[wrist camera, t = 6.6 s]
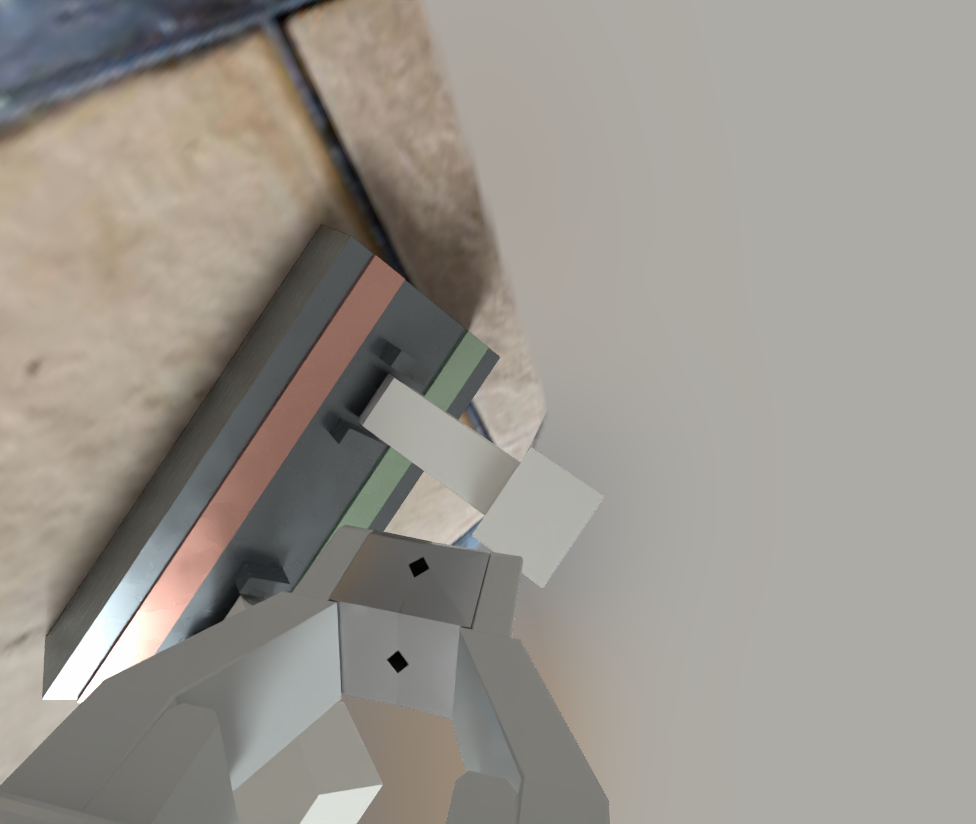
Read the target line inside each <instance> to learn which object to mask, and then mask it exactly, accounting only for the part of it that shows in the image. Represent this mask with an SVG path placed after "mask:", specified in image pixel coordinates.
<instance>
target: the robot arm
mask: <svg viewBox="0 0 976 824" xmlns="http://www.w3.org/2000/svg"><path fill="white" fill-rule="evenodd" d="M522 566H523V558H522V557H521V556H515V555H509V554H502V553H496V552H492V553H491V552H486V551H480V550H474V549H469V548H463V547H457V546H452V545H446V544H440V543H435V542H430V541H426V540H421V539H416V538H411V537H406V536H401V535H397V534H392V533H387V532H382V531H377V530H374V531H373V530H370V529H365V528H360V527H355V526H350V525H344V526H342V527H340V528H339V529H338V530H337V531H336V533H335V534H334V535H333V537H332V538H331V539H330V541H329V542H328V544H327V545H326V546H325V548H324V549H323V550H322V552H321V553H320V555H319V556H318V557H317V559H316V560H315V561H314V563H313V564H312V566H311V567H310V568H309V570H308V571H307V572H306V574H305V575H304V577H303V578H302V579H301V581H300V582H299V583H298V585H297V586H296V588H295V589H294V590H293V592H292V593H288V592H283V591H282V592H280V593H278V594H276V595H274V596H272V597H270V598H268V599H266V600H264V601H262V602H260V603H258V604H256V605H254V606H252V607H250V608H248V609H246V610H244V611H242V612H240V613H238V614H236V615H234V616H232V617H230V618H228V619H226V620H224V621H222V622H220V623H218V624H216V625H214V626H212V627H210V628H208V629H206V630H204V631H202V632H200V633H198V634H196V635H194V636H192V637H190V638H187V639H185V640H183V641H181V642H179V643H177V644H175V645H173V646H171V647H169V648H167V649H165V650H163V651H161V652H159V653H157V654H155V655H153V656H151V657H149V658H147V659H145V660H143V661H141V662H139V663H137V664H135V665H133V666H131V667H129V668H127V669H125V670H123V671H121V672H119V673H117V674H115V675H113V676H111V677H109V678H107V679H105V680H103V681H102V683H101V684H100V685H99V686H98V687H97V688H96V689H95V690H94V691H93V692H92V693H91V694H90V695H89V696H88V697H87V698H86V699H85V700H84V701H83V702H82V703H81V704H80V705H79V706H78V707H77V708H76V709H75V710H74V711H73V712H72V713H71V714H70V715H69V716H68V717H67V718H66V719H65V720H64V721H63V722H62V723H61V724H60V725H59V726H58V727H57V728H56V729H55V730H54V731H53V732H52V733H51V734H50V735H49V736H48V737H47V739H46V740H45V741H44V742H43V743H42V744H41V745H40V746H39V747H38V748H37V749H36V750H35V751H34V752H33V753H32V754H31V755H30V756H29V757H28V758H27V759H26V760H25V761H24V762H23V763H22V764H21V765H20V766H19V767H18V768H17V769H16V770H15V771H14V772H13V773H12V774H11V775H10V776H9V777H8V778H7V779H6V780H5V781H4V782H3V783H2V784H1V785H0V824H239V820H238V815H237V810H236V805H235V800H234V795H233V791H234V790H235V789H236V788H238V787H239V786H240V785H241V784H242V783H243V782H245V781H246V780H247V779H248V778H249V777H250V776H252V775H253V774H254V773H255V772H256V771H257V770H259V769H260V768H261V767H262V766H263V765H264V764H266V763H267V762H268V761H269V760H270V759H271V758H273V757H274V756H275V755H276V754H277V753H278V752H280V751H281V750H282V749H283V748H284V747H285V746H287V745H288V744H289V743H290V742H291V741H292V740H294V739H295V738H296V737H297V736H298V735H299V734H301V733H302V732H303V731H304V730H305V729H306V728H308V727H309V726H310V725H311V724H312V723H313V722H315V721H316V720H317V719H318V718H319V717H320V716H322V715H323V714H324V713H325V712H326V711H327V710H329V709H330V708H331V707H332V706H333V705H334V704H336V703H337V702H338V701H339V700H340V699H341V695H346V696H351V697H356V698H362V699H367V700H372V701H377V702H382V703H387V704H393V705H398V706H401V707H405V708H409V709H413V710H417V711H421V712H425V713H429V714H433V715H437V716H440V717H444V718H449V719H452V725H453V729H454V732H455V736H456V739H457V743H458V746H459V750H460V754H461V757H462V760H463V764H464V768H465V771H466V773H465V774H464V775H462V776H461V777H460V778H458V779H457V780H456V782H455V787H454V791H453V795H452V800H451V804H450V808H449V813H448V817H447V821H446V824H610V820H609V801H608V798H607V797H606V795H605V793H604V791H603V789H602V788H601V786H600V784H599V782H598V780H597V778H596V776H595V775H594V773H593V771H592V769H591V767H590V766H589V764H588V762H587V760H586V759H585V756H584V754H583V753H582V751H581V749H580V747H579V745H578V743H577V742H576V740H575V738H574V736H573V734H572V733H571V731H570V729H569V727H568V726H567V723H566V722H565V720H564V718H563V716H562V714H561V712H560V711H559V709H558V707H557V705H556V703H555V702H554V700H553V698H552V696H551V694H550V693H549V691H548V689H547V687H546V685H545V683H544V681H543V679H542V678H541V676H540V674H539V672H538V670H537V668H536V667H535V665H534V663H533V661H532V659H531V658H530V656H529V654H528V652H527V650H526V649H525V647H524V645H523V643H522V641H521V640H520V639H515V638H512V634H513V626H514V619H515V613H516V606H517V600H518V593H519V586H520V579H521V572H522Z"/></svg>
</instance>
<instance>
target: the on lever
mask: <svg viewBox="0 0 976 824" xmlns="http://www.w3.org/2000/svg"><path fill="white" fill-rule="evenodd" d="M357 421H358V422H359V423H360V424H361V425H362V426H363V427H365V428H366V429H367V430H369V431H370V432H372V433H373V434H374V435H376V436H377V437H378V438H380V439H381V440H382V441H384V442H385V443H387V444H388V445H389V446H391V447H392V448H393V449H395V450H396V451H397V452H399V453H400V454H402V455H403V456H404V457H406V458H407V459H408V460H410V461H411V462H413V463H414V464H415V465H417V466H418V467H419V468H421V469H422V470H423V471H425V472H426V473H428V474H429V475H430V476H432V477H433V478H434V479H436V480H437V481H438V482H440V483H441V484H443V485H444V486H445V487H447V488H448V489H449V490H451V491H452V492H454V493H455V494H456V495H458V496H459V497H460V498H462V499H463V500H464V501H466V502H467V503H469V504H470V505H471V506H473V507H474V508H475V509H477V510H478V511H480V512H481V513H482V514H484V515H485V517H484V518H483V520H482V521H481V523H480V524H479V526H478V527H477V529H476V530H475V532H474V533H473V534H472V536H473V537H474V538H476V539H477V540H478V541H480V542H481V543H483V544H484V545H485V546H486V547H488V548H489V549H491V550H492V551H493V552H496V553H502V554H509V555H515V556H521V557H522V558H523V566H522V572H521V573H523V574H524V575H525V576H527V577H528V578H529V579H531V580H532V581H533V582H535V583H536V584H537V585H539V586H540V587H541V588H543V587H544V586H545V585H546V583H547V581H548V580H549V578H550V577H551V576H552V574H553V573H554V571H555V570H556V568H557V567H558V565H559V563H560V562H561V561H562V559H563V558H564V556H565V555H566V553H567V552H568V550H569V549H570V547H571V546H572V544H573V543H574V541H575V540H576V538H577V537H578V535H579V534H580V533H581V531H582V529H583V528H584V527H585V525H586V523H587V522H588V521H589V519H590V518H591V516H592V515H593V513H594V512H595V510H596V509H597V507H598V506H599V504H600V502H601V501H602V500H603V498H604V495H603V494H602V493H600V492H599V491H597V490H596V489H594V488H593V487H591V486H590V485H588V484H587V483H585V482H584V481H582V480H581V479H579V478H578V477H576V476H575V475H573V474H572V473H570V472H569V471H567V470H566V469H565V468H563V467H561V466H560V465H559V464H557V463H556V462H554V461H553V460H551V459H550V458H548V457H546V456H545V455H544V454H542V453H541V452H539V451H538V450H536V449H534V448H532V447H531V448H530V450H529V451H528V453H527V454H526V456H525V457H524V459H523V460H522V462H519V461H518V460H516V459H515V458H513V457H512V456H510V455H509V454H507V453H506V452H505V451H503V450H502V449H500V448H499V447H497V446H496V445H494V444H493V443H491V442H490V441H489V440H487V439H486V438H484V437H483V436H481V435H480V434H478V433H477V432H475V431H474V430H473V429H471V428H470V427H468V426H467V425H465V424H464V423H462V422H461V421H459V420H458V419H457V418H455V417H454V416H452V415H451V414H449V413H448V412H446V411H445V410H444V409H442V408H441V407H439V406H438V405H436V404H435V403H433V402H432V401H430V400H429V399H428V398H426V397H425V396H423V395H422V394H420V393H419V392H417V391H416V390H414V389H413V388H412V387H410V386H409V385H407V384H406V383H404V382H403V381H401V380H400V379H398V378H396V377H395V376H393V375H392V374H390V373H388V375H387V376H386V378H385V379H384V381H383V382H382V384H381V385H380V387H379V388H378V390H377V391H376V393H375V394H374V396H373V397H372V399H371V400H370V402H369V403H368V405H367V406H366V408H365V409H364V411H363V412H362V414H361V415H360V417H359V418H358V420H357Z"/></svg>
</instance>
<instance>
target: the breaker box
mask: <svg viewBox="0 0 976 824" xmlns="http://www.w3.org/2000/svg"><path fill="white" fill-rule="evenodd" d="M499 358H500V357H499V356H498V355H497V354H496V353H494V352H493V351H492V350H491V349H490V348H489V347H488V346H487V345H485V344H484V343H483V342H482V341H480V340H479V339H478V338H477V337H476V336H474V335H473V334H472V333H471V332H469V331H468V330H466V329H465V328H464V327H463V326H461V325H460V324H459V323H458V322H456V321H455V320H454V319H453V318H451V317H450V316H449V315H448V314H447V313H445V312H444V311H443V310H442V309H440V308H439V307H438V306H437V305H436V304H434V303H433V302H432V301H431V300H429V299H428V298H427V297H426V296H424V295H423V294H422V293H421V292H420V291H418V290H417V289H416V288H415V287H413V286H412V285H411V284H410V283H409V282H407V281H406V280H405V279H404V278H403V277H402V276H401V275H400V274H398V273H397V272H396V271H395V270H393V269H392V268H391V267H390V266H388V265H387V264H386V263H385V262H384V261H382V260H381V259H380V258H379V257H377V256H376V255H374V254H373V253H372V252H370V251H369V250H368V249H367V248H366V247H364V246H363V245H362V244H361V243H359V242H358V241H357V240H356V239H354V238H353V237H352V236H350V235H347V234H345V233H342V232H340V231H337V230H334V229H332V228H329V227H326V226H324V225H321V226H320V227H319V229H318V230H317V232H316V233H315V235H314V236H313V238H312V239H311V241H310V242H309V244H308V245H307V247H306V248H305V250H304V251H303V253H302V254H301V256H300V257H299V259H298V260H297V262H296V263H295V265H294V266H293V268H292V269H291V271H290V272H289V274H288V275H287V277H286V278H285V280H284V281H283V283H282V284H281V286H280V287H279V289H278V290H277V292H276V293H275V295H274V296H273V298H272V299H271V301H270V302H269V304H268V305H267V307H266V308H265V310H264V311H263V313H262V314H261V316H260V317H259V319H258V320H257V322H256V323H255V325H254V326H253V328H252V329H251V331H250V332H249V334H248V335H247V337H246V338H245V340H244V341H243V343H242V344H241V346H240V347H239V349H238V350H237V352H236V353H235V355H234V356H233V358H232V359H231V361H230V362H229V364H228V365H227V367H226V368H225V370H224V371H223V373H222V374H221V376H220V377H219V379H218V380H217V382H216V383H215V385H214V386H213V388H212V389H211V391H210V392H209V394H208V395H207V397H206V398H205V400H204V401H203V403H202V404H201V406H200V407H199V409H198V410H197V412H196V413H195V415H194V416H193V418H192V419H191V421H190V422H189V424H188V425H187V427H186V428H185V430H184V431H183V433H182V434H181V436H180V437H179V439H178V440H177V442H176V443H175V445H174V446H173V448H172V449H171V451H170V452H169V454H168V455H167V457H166V458H165V460H164V461H163V463H162V464H161V466H160V467H159V469H158V470H157V472H156V473H155V475H154V476H153V478H152V479H151V481H150V482H149V484H148V485H147V487H146V488H145V490H144V491H143V493H142V494H141V496H140V497H139V499H138V500H137V502H136V503H135V505H134V506H133V508H132V509H131V511H130V512H129V514H128V515H127V517H126V518H125V520H124V521H123V523H122V524H121V526H120V527H119V529H118V530H117V532H116V533H115V535H114V536H113V538H112V539H111V541H110V542H109V544H108V545H107V547H106V548H105V550H104V551H103V553H102V554H101V556H100V557H99V559H98V560H97V562H96V563H95V565H94V566H93V568H92V569H91V571H90V572H89V574H88V575H87V577H86V578H85V580H84V581H83V583H82V584H81V586H80V587H79V589H78V590H77V592H76V593H75V595H74V596H73V598H72V599H71V601H70V602H69V604H68V605H67V607H66V608H65V610H64V611H63V613H62V614H61V616H60V617H59V619H58V620H57V622H56V623H55V625H54V626H53V628H52V629H51V631H50V632H49V634H48V635H47V637H46V638H45V655H44V674H43V693H42V700H46V699H77V703H82V702H83V701H84V700H85V699H86V698H87V697H88V696H89V695H90V694H91V693H92V692H93V691H94V690H95V689H96V688H97V687H98V686H99V685H100V684H101V683H102V681H103V680H105V679H107V678H109V677H111V676H113V675H115V674H117V673H119V672H121V671H123V670H125V669H127V668H129V667H131V666H133V665H135V664H137V663H139V662H141V661H143V660H145V659H147V658H149V657H151V656H153V655H155V654H157V653H159V652H161V651H163V650H165V649H167V648H169V647H171V646H173V645H175V644H177V643H179V642H181V641H183V640H185V639H187V638H190V637H192V636H194V635H196V634H198V633H200V632H202V631H204V630H206V629H208V628H210V627H212V626H214V625H216V624H218V623H220V622H222V621H223V620H224V619H225V617H226V616H227V614H228V613H229V611H230V610H231V608H232V607H233V605H234V604H235V602H236V601H237V599H238V598H239V596H240V595H241V594H247V595H254V596H260V597H265V598H266V599H268V598H270V597H272V596H274V595H276V594H278V593H280V592H282V591H283V592H288V593H292V592H293V590H294V589H295V588H296V586H297V585H298V583H299V582H300V581H301V579H302V578H303V577H304V575H305V574H306V572H307V571H308V570H309V568H310V567H311V566H312V564H313V563H314V561H315V560H316V559H317V557H318V556H319V555H320V553H321V552H322V550H323V549H324V548H325V546H326V545H327V544H328V542H329V541H330V539H331V538H332V537H333V535H334V534H335V533H336V531H337V530H338V529H339V528H340V527H342V526H344V525H350V526H355V527H360V528H365V529H370V530H373V531H374V530H377V531H382V532H383V531H384V530H385V528H386V527H387V525H388V524H389V522H390V521H391V519H392V518H393V516H394V515H395V513H396V512H397V510H398V509H399V507H400V506H401V504H402V503H403V501H404V500H405V499H406V497H407V496H408V494H409V493H410V491H411V490H412V488H413V487H414V485H415V484H416V482H417V481H418V479H419V478H420V476H421V475H422V473H423V472H424V471H423V470H422V469H421V468H419V467H418V466H417V465H415V464H414V463H413V462H411V461H410V460H408V459H407V458H406V457H404V456H403V455H402V454H400V453H399V452H397V451H396V450H395V449H393V448H392V447H391V446H389V445H388V444H387V443H385V442H384V441H382V440H381V439H380V438H378V437H377V436H376V435H374V434H373V433H372V432H370V431H369V430H367V429H366V428H365V427H363V426H362V425H361V424H360V423H359V422H358V421H357V420H358V418H359V417H360V415H361V414H362V412H363V411H364V409H365V408H366V406H367V405H368V403H369V402H370V400H371V399H372V397H373V396H374V394H375V393H376V391H377V390H378V388H379V387H380V385H381V384H382V382H383V381H384V379H385V378H386V376H387V375H388V373H390V374H392V375H393V376H395V377H396V378H398V379H400V380H401V381H403V382H404V383H406V384H407V385H409V386H410V387H412V388H413V389H414V390H416V391H417V392H419V393H420V394H422V395H423V396H425V397H426V398H428V399H429V400H430V401H432V402H433V403H435V404H436V405H438V406H439V407H441V408H442V409H444V410H445V411H446V412H448V413H449V414H451V415H452V416H454V417H455V418H457V419H459V418H460V416H461V415H462V413H463V412H464V410H465V409H466V407H467V406H468V404H469V403H470V402H471V400H472V399H473V397H474V396H475V394H476V393H477V391H478V390H479V388H480V387H481V385H482V384H483V382H484V381H485V379H486V378H487V376H488V375H489V373H490V372H491V370H492V369H493V367H494V366H495V364H496V363H497V361H498V360H499Z"/></svg>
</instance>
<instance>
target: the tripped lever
mask: <svg viewBox="0 0 976 824" xmlns="http://www.w3.org/2000/svg"><path fill="white" fill-rule="evenodd" d="M264 600H266V598H265V597H260V596H254V595H247V594H241V595H240V596H239V598H238V599H237V601H236V602H235V604H234V605H233V607H232V608H231V610H230V611H229V613H228V614H227V616H226V617H225V619H224V620H226V619H228V618H230V617H232V616H234V615H236V614H238V613H240V612H242V611H244V610H246V609H248V608H250V607H252V606H254V605H256V604H258V603H260V602H262V601H264ZM224 620H223V621H224ZM382 785H383V783H382V781H381V779H380V777H379V775H378V773H377V771H376V769H375V767H374V764H373V762H372V760H371V758H370V756H369V754H368V752H367V750H366V747H365V745H364V743H363V741H362V739H361V737H360V735H359V733H358V731H357V729H356V726H355V724H354V722H353V720H352V718H351V716H350V714H349V712H348V710H347V708H346V705H345V703H344V702H337V703H336V704H334V705H333V706H332V707H331V708H330V709H329V710H327V711H326V712H325V713H324V714H323V715H322V716H320V717H319V718H318V719H317V720H316V721H315V722H313V723H312V724H311V725H310V726H309V727H308V728H306V729H305V730H304V731H303V732H302V733H301V734H299V735H298V736H297V737H296V738H295V739H294V740H292V741H291V742H290V743H289V744H288V745H287V746H285V747H284V748H283V749H282V750H281V751H280V752H278V753H277V754H276V755H275V756H274V757H273V758H271V759H270V760H269V761H268V762H267V763H266V764H264V765H263V766H262V767H261V768H260V769H259V770H257V771H256V772H255V773H254V774H253V775H252V776H250V777H249V778H248V779H247V780H246V781H245V782H243V783H242V784H241V785H240V786H239V787H238V788H236V789H235V790H234V791H233V795H234V800H235V805H236V810H237V815H238V820H239V824H357V822H358V821H359V819H360V817H361V816H362V815H363V813H364V812H365V810H366V809H367V807H368V805H369V804H370V803H371V801H372V800H373V798H374V797H375V795H376V794H377V792H378V791H379V789H380V788H381V786H382Z"/></svg>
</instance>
